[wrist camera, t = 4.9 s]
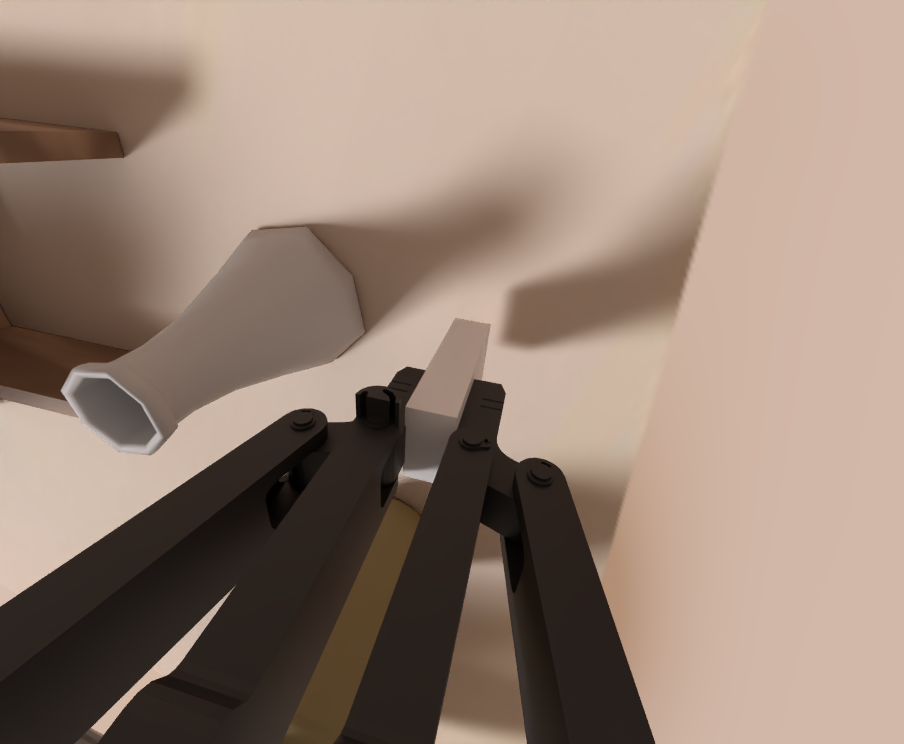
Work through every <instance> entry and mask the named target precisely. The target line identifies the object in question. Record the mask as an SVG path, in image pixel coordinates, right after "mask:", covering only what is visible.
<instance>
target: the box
mask: <svg viewBox="0 0 904 744" xmlns="http://www.w3.org/2000/svg"><path fill="white" fill-rule="evenodd" d="M103 158H124V155H123V152H122V149H121V145H120V142H119V139H118V135H117V132H111V131H102V130H94V129H86V128H78V127H70V126H62V125H54V124H46V123H38V122H29V121H21V120H13V119H5V118H0V163H18V162H39V161H61V160H82V159H103ZM129 352H131V351H126V350H122V349H117V348H112V347H108V346H103V345H98V344H94V343H89V342H84V341H80V340H75V339H70V338H66V337H61V336H56V335H52V334H47V333H42V332H38V331H33V330H28V329H24V328H19V327H14V326H11V325H10V323H9V321H8V319H7V317H6V316H5V314H4V312H3V310H2V308H1V306H0V398H1V399H5V400H9V401H13V402H17V403H21V404H25V405H29V406H33V407H37V408H41V409H45V410H49V411H53V412H57V413H61V414H65V415H69V416H73V417H77V418H79V417H78V416H77V414H76V413H75V411H74V410H73V408H72V407H71V405H70V404H69V402H68V401H67V399H66V398H65V396H64V395H63V393H62V392H61V389H62V387H63V385H64V384H65V382H66V380H67V378H68V376H69V374H70V372H71V370H72V369H73V368H75V367H77V366H79V365H82V364H86V363H109V362H112V361H114V360H116V359H118V358H120V357H121V356H123V355H125V354H127V353H129Z"/></svg>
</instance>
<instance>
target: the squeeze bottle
mask: <svg viewBox="0 0 904 744" xmlns="http://www.w3.org/2000/svg"><path fill="white" fill-rule="evenodd" d="M420 517H421V516H420V515H419V514H418V513H417V512H416V511H415V510H414V509H412V508H411V507H409V506H407V505H406V504H404V503H402V502H401V501H399V500H395V499H392V500H391V503H390V505H389V507H388V509H387V512H386V514H385V516H384V518H383V520H382V523H381V525H380V527H379V529H378V531H377V534H376V536H375V538H374V540H373V542H372V545H371V547H370V549H369V551H368V554H367V556H366V558H365V560H364V562H363V565H362V567H361V569H360V571H359V573H358V576H357V578H356V580H355V582H354V584H353V587H352V589H351V591H350V593H349V596H348V598H347V600H346V602H345V604H344V607H343V609H342V611H341V613H340V615H339V618H338V620H337V622H336V624H335V626H334V629H333V631H332V633H331V635H330V638H329V640H328V642H327V644H326V646H325V649H324V651H323V653H322V655H321V657H320V660H319V662H318V664H317V666H316V668H315V671H314V673H313V675H312V677H311V680H310V682H309V684H308V686H307V688H306V691H305V693H304V695H303V697H302V699H301V702H300V704H299V706H298V708H297V710H296V713H295V715H294V717H293V719H292V722H291V724H290V726H289V728H288V730H287V733H286V735H285V737H284V739H283V741H282V744H333V743H334V742H335V740H336V739H337V738H338V736H339V735H340V734H341V732H342V730H343V727H344V725H345V723H346V720H347V718H348V715H349V712H350V710H351V707H352V704H353V701H354V699H355V696H356V693H357V690H358V688H359V685H360V682H361V679H362V677H363V674H364V671H365V668H366V666H367V663H368V660H369V657H370V655H371V652H372V649H373V646H374V644H375V641H376V638H377V635H378V633H379V630H380V627H381V624H382V622H383V619H384V616H385V613H386V611H387V608H388V605H389V602H390V600H391V597H392V594H393V591H394V589H395V586H396V583H397V580H398V578H399V575H400V572H401V569H402V567H403V564H404V561H405V558H406V556H407V553H408V550H409V547H410V545H411V542H412V539H413V536H414V534H415V531H416V528H417V525H418V523H419V520H420Z"/></svg>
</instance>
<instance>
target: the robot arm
mask: <svg viewBox="0 0 904 744" xmlns="http://www.w3.org/2000/svg"><path fill="white" fill-rule="evenodd" d="M489 331H490V324H486V323H480V322H475V321H469V320H464V319H458V318H455V320H454V321H453V323H452V325H451V327H450V328H449V330H448V332H447V334H446V336H445V337H444V339H443V341H442V343H441V344H440V346H439V348H438V350H437V352H436V353H435V355H434V357H433V359H432V360H431V362H430V364H429V366H428V367H427V369H426V370H422V369H417V368H412V367H406V368H404V369H402V370H400V371H399V372H397V373H396V375H395V376H394V378H393V379H392V382H390V384H389V385H388V387H386V386H370V387H366V388H364V389H361V390H360V391H359V392H357V393H356V394H355V395H356V418H355V419H354V421H351V422H327V418H326V416H325V414H324V413H322V412H321V411H319V410H315V409H299V410H294V411H292V412H290V413H288V414H286V415H284V416H283V417H281V418H280V419H278V420H277V421H275V422H274V423H273V424H271V425H270V426H268V427H267V428H265V429H264V430H262V431H261V432H259V433H258V434H256V435H255V436H253V437H252V438H250V439H249V440H247V441H246V442H244V443H243V444H241V445H240V446H238V447H237V448H235V449H234V450H232V451H231V452H229V453H228V454H226V455H225V456H223V457H222V458H221V459H219V460H218V461H216V462H215V463H213V464H212V465H210V466H209V467H207V468H206V469H204V470H203V471H201V472H200V473H198V474H197V475H195V476H194V477H192V478H191V479H189V480H188V481H186V482H185V483H183V484H182V485H180V486H179V487H177V488H176V489H174V490H173V491H172V492H170V493H169V494H167V495H166V496H164V497H163V498H161V499H160V500H158V501H157V502H155V503H154V504H152V505H151V506H149V507H148V508H146V509H145V510H143V511H142V512H140V513H139V514H137V515H136V516H134V517H133V518H131V519H130V520H128V521H127V522H125V523H124V524H122V525H121V526H120V527H118V528H117V529H115V530H114V531H112V532H111V533H109V534H108V535H106V536H105V537H103V538H102V539H100V540H99V541H97V542H96V543H94V544H93V545H91V546H90V547H88V548H87V549H85V550H84V551H82V552H81V553H79V554H78V555H76V556H75V557H73V558H72V559H71V560H69V561H68V562H66V563H65V564H63V565H62V566H60V567H59V568H57V569H56V570H54V571H53V572H51V573H50V574H48V575H47V576H45V577H44V578H42V579H41V580H39V581H38V582H36V583H35V584H33V585H32V586H30V587H29V588H27V589H26V590H24V591H23V592H21V593H20V594H19V595H17V596H16V597H14V598H13V599H11V600H10V601H8V602H7V603H5V604H4V605H2V606H1V607H0V744H282V741H283V739H284V737H285V735H286V733H287V730H288V728H289V726H290V724H291V722H292V719H293V717H294V715H295V713H296V710H297V708H298V706H299V704H300V702H301V699H302V697H303V695H304V693H305V691H306V688H307V686H308V684H309V682H310V680H311V677H312V675H313V673H314V671H315V668H316V666H317V664H318V662H319V660H320V657H321V655H322V653H323V651H324V649H325V646H326V644H327V642H328V640H329V638H330V635H331V633H332V631H333V629H334V626H335V624H336V622H337V620H338V618H339V615H340V613H341V611H342V609H343V607H344V604H345V602H346V600H347V598H348V596H349V593H350V591H351V589H352V587H353V584H354V582H355V580H356V578H357V576H358V573H359V571H360V569H361V567H362V565H363V562H364V560H365V558H366V556H367V554H368V551H369V549H370V547H371V545H372V542H373V540H374V538H375V536H376V534H377V531H378V529H379V527H380V525H381V523H382V520H383V518H384V516H385V514H386V512H387V509H388V507H389V505H390V503H391V500H392V498H393V496H394V494H395V492H396V489H397V485H398V474H399V472H400V470H401V468H402V466H403V476H406V477H410V478H414V479H418V480H422V481H426V482H431V483H433V484H432V487H431V490H430V492H429V495H428V498H427V501H426V503H425V506H424V509H423V512H422V514H421V517H420V520H419V523H418V525H417V528H416V531H415V534H414V536H413V539H412V542H411V545H410V547H409V550H408V553H407V556H406V558H405V561H404V564H403V567H402V569H401V572H400V575H399V578H398V580H397V583H396V586H395V589H394V591H393V594H392V597H391V600H390V602H389V605H388V608H387V611H386V613H385V616H384V619H383V622H382V624H381V627H380V630H379V633H378V635H377V638H376V641H375V644H374V646H373V649H372V652H371V655H370V657H369V660H368V663H367V666H366V668H365V671H364V674H363V677H362V679H361V682H360V685H359V688H358V690H357V693H356V696H355V699H354V701H353V704H352V707H351V710H350V712H349V715H348V718H347V720H346V723H345V725H344V727H343V730H342V732H341V734H340V735H339V736H338V738H337V739H336V740H335V742H334V743H333V744H435V740H436V735H437V730H438V725H439V720H440V715H441V710H442V705H443V700H444V696H445V691H446V686H447V681H448V676H449V671H450V666H451V661H452V656H453V651H454V647H455V642H456V637H457V632H458V627H459V622H460V617H461V612H462V607H463V603H464V598H465V593H466V588H467V583H468V578H469V573H470V568H471V563H472V558H473V554H474V549H475V544H476V539H477V534H478V529H479V525H480V522H481V523H482V524H484V525H486V526H487V527H489V528H491V529H493V530H494V531H496V532H498V533H499V534H500V541H501V549H502V557H503V564H504V572H505V580H506V587H507V595H508V602H509V610H510V618H511V625H512V633H513V641H514V648H515V656H516V663H517V671H518V679H519V686H520V694H521V702H522V709H523V717H524V724H525V732H526V740H527V744H655V741H654V738H653V735H652V732H651V729H650V726H649V724H648V720H647V718H646V714H645V711H644V708H643V705H642V703H641V700H640V697H639V694H638V691H637V688H636V685H635V682H634V679H633V676H632V673H631V670H630V667H629V664H628V661H627V658H626V656H625V653H624V650H623V647H622V644H621V641H620V638H619V635H618V632H617V629H616V626H615V623H614V620H613V617H612V614H611V611H610V608H609V605H608V602H607V599H606V596H605V594H604V590H603V587H602V584H601V582H600V579H599V576H598V573H597V570H596V567H595V564H594V561H593V558H592V555H591V552H590V549H589V546H588V543H587V540H586V537H585V534H584V531H583V528H582V525H581V522H580V520H579V517H578V514H577V511H576V508H575V505H574V502H573V499H572V496H571V493H570V490H569V487H568V484H567V481H566V478H565V476H564V474H563V473H562V471H561V470H560V469H559V468H558V467H557V466H556V465H555V464H553V463H551V462H549V461H547V460H544V459H539V458H528V459H525V460H523V461H521V462H520V463H518V462H516V461H514V460H512V459H511V458H509V457H507V456H506V455H505V454H504V453H503V452H502V451H501V450H500V448H499V447H498V444H497V435H498V430H499V425H500V420H501V415H502V410H503V404H504V399H505V394H506V393H505V391H504V389H503V387H502V385H501V384H496V383H491V382H486V381H482V375H483V369H484V362H485V356H486V350H487V343H488V337H489ZM286 473H287V474H286ZM285 474H286V475H285ZM281 477H282V478H281ZM236 584H237V585H236ZM235 585H236V586H235ZM234 586H235V588H234V589H233V590H232V592H231V593H230V595H229V596H228V597H227V599H226V600H225V602H224V603H223V604H222V606H221V607H220V609H219V610H218V611H217V613H216V614H215V616H214V617H213V618H212V620H211V621H210V623H209V624H208V625H207V627H206V628H205V630H204V631H203V632H202V634H201V635H200V637H199V638H198V639H197V641H196V642H195V644H194V645H193V646H192V648H191V649H190V651H189V652H188V653H187V655H186V656H185V658H184V659H183V660H182V662H181V663H180V664H179V665H178V666H177V668H176V669H175V670H174V671H172V672H171V673H170V674H169V675H167V676H164V677H162V678H159V679H157V680H154V681H151V682H150V683H149V684H148V685H146V686H145V687H144V688H143V689H142V690H140V691H139V692H138V693H137V694H136V695H135V696H134V697H133V699H132V700H131V701H130V702H129V703H128V704H127V706H126V707H125V708H124V709H123V710H122V712H121V713H120V714H119V716H118V717H117V718H116V719H115V721H114V722H113V724H112V725H111V726H110V728H109V729H108V730H107V731H106V733H105V734H104V735H103V734H101V733H99V732H97V731H95V730H93V729H91V727H92V726H93V725H94V724H95V723H96V722H97V721H98V720H99V719H100V718H101V717H102V716H103V715H104V714H105V713H106V712H107V711H108V710H109V709H110V708H111V707H112V706H113V705H114V704H115V703H116V702H117V701H118V700H119V699H120V698H121V697H122V696H124V694H125V693H127V692H128V691H129V690H130V689H131V688H132V687H133V686H134V684H136V683H137V682H138V680H140V679H141V678H142V677H143V676H144V675H145V674H146V673H147V672H148V671H149V670H150V669H151V668H152V667H153V666H154V665H155V664H156V663H157V662H158V661H159V660H160V659H161V658H162V657H163V656H164V655H165V654H166V653H167V652H168V651H169V650H170V649H171V648H172V647H173V646H174V645H175V644H176V643H177V642H178V641H179V640H180V639H181V638H183V637H184V636H185V635H186V634H187V633H188V632H189V631H190V630H191V629H192V628H193V627H194V626H195V625H196V624H197V623H198V622H199V621H200V620H201V619H202V618H203V617H204V616H205V615H206V614H207V613H208V612H209V611H210V610H211V609H212V608H213V607H214V606H215V605H216V604H217V603H218V602H219V601H220V600H221V599H222V598H223V597H224V596H225V595H226V594H227V593H228V592H229V591H230V590H231V589H232V588H233V587H234Z"/></svg>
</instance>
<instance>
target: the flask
mask: <svg viewBox="0 0 904 744" xmlns="http://www.w3.org/2000/svg"><path fill="white" fill-rule="evenodd" d="M364 333H365V330H364V326H363V321H362V316H361V312H360V307H359V303H358V298H357V294H356V289H355V284H354V280H353V276H352V275H351V274H350V273H349V272H348V271H347V269H346V268H345V267H344V266H343V265H342V264H341V263H340V262H339V261H338V260H337V259H336V258H335V257H334V256H333V254H332V253H331V252H330V251H329V250H328V249H327V248H326V247H325V246H324V245H323V244H322V243H321V242H320V241H319V239H318V238H317V237H316V236H315V235H314V234H313V233H312V232H311V231H310V230H309V229H308V228H307V227H293V228H278V229H262V230H252V231H251V232H250V233H249V234H248V235H247V236H246V238H245V239H244V240H243V241H242V242H241V244H240V245H239V246H238V247H237V249H236V250H235V251H234V252H233V254H232V255H231V256H230V258H229V259H228V260H227V261H226V263H225V264H224V265H223V267H222V268H221V269H220V270H219V272H218V273H217V274H216V275H215V276H214V278H213V279H212V280H211V281H210V282H209V283H208V284H207V286H206V287H205V288H204V289H203V290H202V291H201V293H200V294H199V295H198V296H197V297H196V298H195V299H194V301H193V302H192V303H191V304H190V305H189V306H188V307H187V309H186V310H185V311H184V312H183V313H182V314H181V315H180V316H179V317H178V318H177V319H176V320H174V321H173V322H172V323H170V324H169V325H168V326H167V327H165V328H164V329H163V330H162V331H160V332H159V333H158V334H156V335H155V336H154V337H153V338H151V339H150V340H149V341H147V342H146V343H145V344H144V345H142V346H140V347H138V348H137V349H135V350H133V351H131V352H129V353H127V354H125V355H123V356H121V357H120V358H118V359H116V360H114V361H112V362H109V363H86V364H82V365H79V366H77V367H75V368H73V369H72V370H71V372H70V374H69V376H68V378H67V380H66V382H65V384H64V385H63V387H62V389H61V392H62V393H63V395H64V396H65V398H66V399H67V401H68V402H69V404H70V405H71V407H72V408H73V410H74V411H75V413H76V414H77V416H78V417H79V419H80V420H81V421H82V423H83V424H84V426H86V427H87V428H88V429H90V430H91V431H92V432H94V433H95V434H96V435H97V436H99V437H100V438H101V439H103V440H104V441H105V442H107V443H108V444H109V445H111V446H112V447H113V448H114V449H116V450H117V451H118V452H122V453H132V454H142V455H152V454H153V453H155V452H156V451H157V450H158V449H159V448H160V447H161V446H162V445H163V444H164V443H165V442H166V441H167V439H168V438H169V437H170V436H171V435H172V434H173V433H174V431H175V430H176V429H177V427H178V424H177V423H179V422H180V421H181V420H183V419H184V418H186V417H187V416H188V415H190V414H191V413H192V412H194V411H195V410H197V409H199V408H201V407H203V406H205V405H207V404H209V403H211V402H213V401H215V400H217V399H219V398H221V397H223V396H225V395H227V394H229V393H231V392H233V391H235V390H238V389H241V388H244V387H247V386H250V385H254V384H257V383H260V382H263V381H266V380H270V379H273V378H276V377H279V376H282V375H286V374H290V373H294V372H297V371H301V370H305V369H309V368H313V367H317V366H320V365H324V364H327V363H330V362H332V361H334V360H335V359H336V358H337V357H338V356H339V355H340V354H342V353H343V352H344V351H345V350H346V349H347V348H348V347H349V346H351V345H352V344H353V343H354V342H355V341H356V340H357V339H358V338H360V337H361V336H362V335H363V334H364Z"/></svg>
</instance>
